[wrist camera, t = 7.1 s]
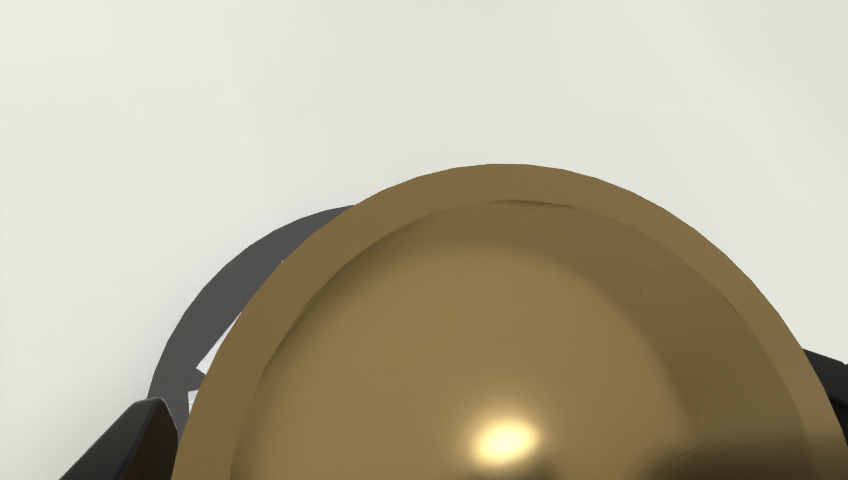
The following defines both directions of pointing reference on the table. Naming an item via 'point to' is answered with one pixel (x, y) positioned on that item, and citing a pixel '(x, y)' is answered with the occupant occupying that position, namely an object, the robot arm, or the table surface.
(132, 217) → the table surface
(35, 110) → the table surface
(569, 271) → the gold flared cylinder
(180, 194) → the table surface
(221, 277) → the flange
